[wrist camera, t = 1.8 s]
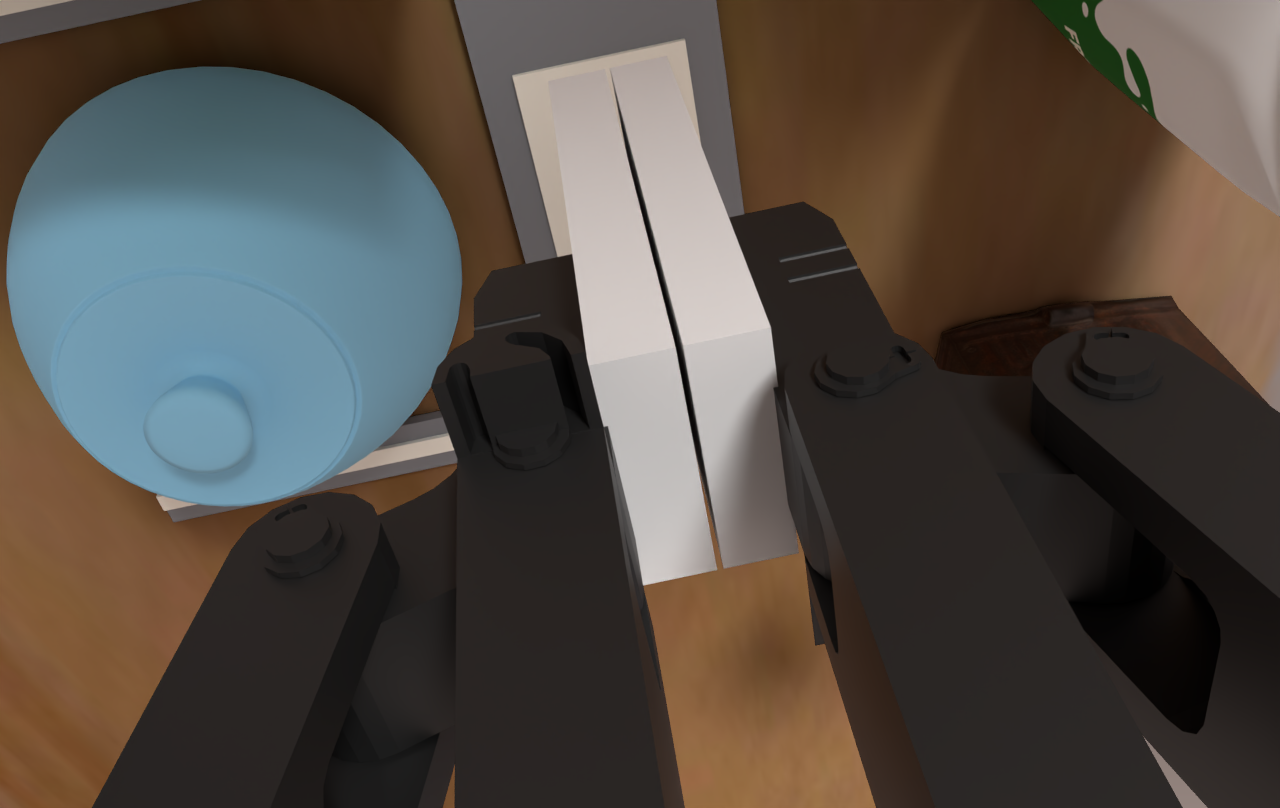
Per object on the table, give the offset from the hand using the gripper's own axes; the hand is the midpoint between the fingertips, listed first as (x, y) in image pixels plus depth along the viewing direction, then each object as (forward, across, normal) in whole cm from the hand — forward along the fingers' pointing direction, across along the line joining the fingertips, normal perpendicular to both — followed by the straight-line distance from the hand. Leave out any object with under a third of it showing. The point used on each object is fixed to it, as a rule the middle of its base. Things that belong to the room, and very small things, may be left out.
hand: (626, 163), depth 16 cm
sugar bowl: (+25, -13, -12) cm, 31 cm away
